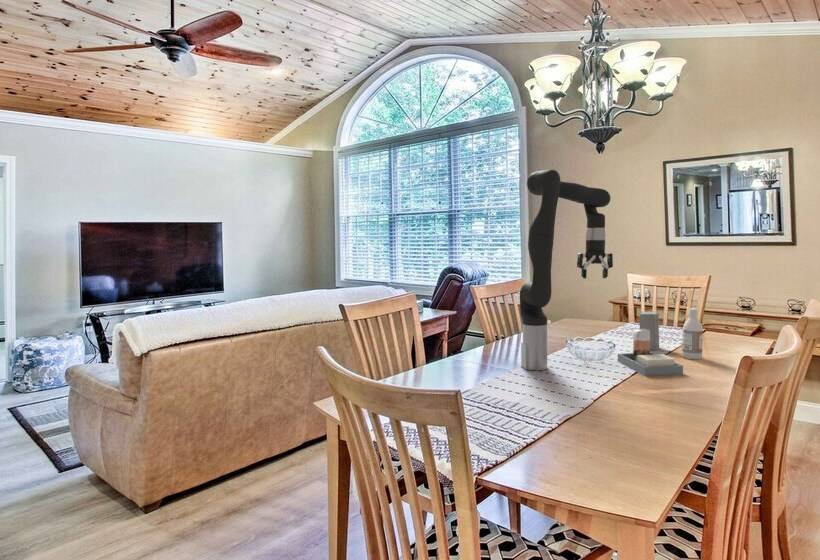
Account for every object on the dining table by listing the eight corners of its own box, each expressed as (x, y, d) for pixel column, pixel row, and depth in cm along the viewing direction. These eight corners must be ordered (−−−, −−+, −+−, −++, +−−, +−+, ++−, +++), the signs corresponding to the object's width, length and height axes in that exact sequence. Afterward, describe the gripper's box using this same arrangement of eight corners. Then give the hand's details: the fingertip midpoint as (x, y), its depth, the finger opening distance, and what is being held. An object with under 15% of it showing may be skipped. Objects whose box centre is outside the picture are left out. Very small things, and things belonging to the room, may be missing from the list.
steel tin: (637, 366, 191) (638, 332, 189) (630, 362, 196) (630, 329, 195) (652, 365, 191) (653, 331, 190) (644, 361, 197) (645, 328, 195)
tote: (644, 378, 178) (644, 367, 178) (617, 363, 198) (617, 353, 198) (682, 376, 179) (683, 365, 179) (652, 362, 199) (652, 352, 198)
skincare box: (655, 351, 216) (656, 314, 214) (637, 349, 220) (638, 313, 219) (659, 347, 223) (660, 311, 221) (642, 345, 227) (643, 310, 225)
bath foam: (698, 360, 199) (700, 310, 197) (679, 357, 204) (681, 309, 202) (704, 357, 204) (705, 308, 202) (685, 354, 209) (687, 306, 207)
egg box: (647, 373, 180) (647, 360, 180) (637, 368, 187) (637, 355, 187) (674, 372, 181) (674, 358, 180) (663, 367, 188) (663, 354, 187)
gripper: (582, 239, 204) (581, 279, 205) (616, 239, 205) (615, 278, 206) (575, 239, 211) (574, 277, 213) (608, 238, 212) (607, 277, 214)
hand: (594, 278), depth 210 cm, fingers open, 8 cm apart
